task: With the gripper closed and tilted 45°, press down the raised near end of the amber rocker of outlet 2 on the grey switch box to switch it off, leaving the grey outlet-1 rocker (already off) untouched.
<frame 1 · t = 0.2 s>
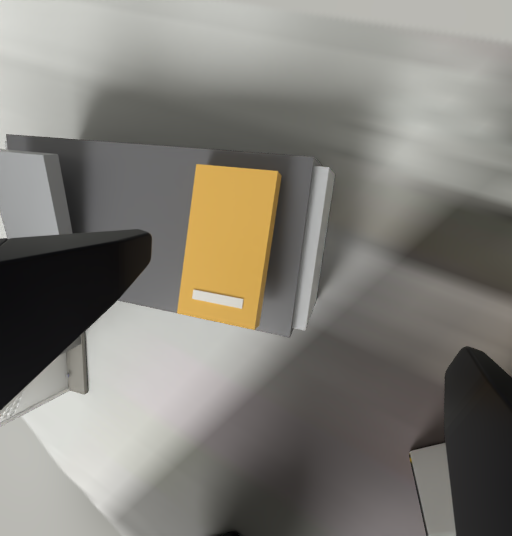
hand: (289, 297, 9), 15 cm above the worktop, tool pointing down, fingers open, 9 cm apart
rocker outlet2: (228, 245, 17), point 8 cm above the worktop, hinge at 10.0°
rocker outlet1: (35, 219, 21), point 8 cm above the worktop, hinge at -10.0°
medicine bottle: (475, 476, 24), on the worktop
skyscraper: (56, 358, 34), on the worktop
grey switch box: (188, 221, 26), on the worktop
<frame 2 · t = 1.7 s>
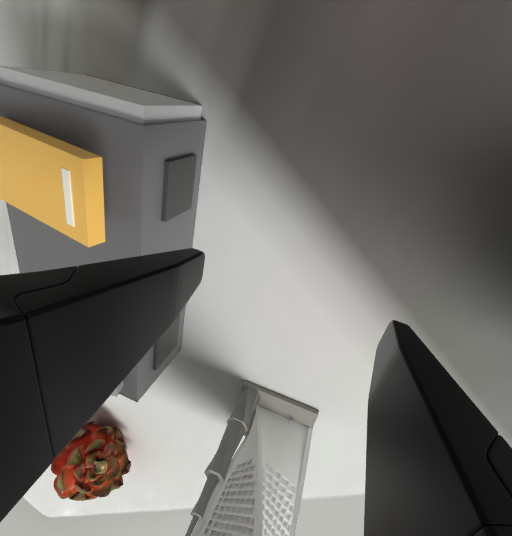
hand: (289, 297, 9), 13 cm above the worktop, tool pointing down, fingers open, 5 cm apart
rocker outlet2: (41, 179, 17), point 8 cm above the worktop, hinge at 10.0°
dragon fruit: (114, 436, 43), on the worktop
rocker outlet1: (66, 356, 23), point 8 cm above the worktop, hinge at -10.0°
skyscraper: (279, 424, 31), on the worktop
grey switch box: (137, 238, 27), on the worktop
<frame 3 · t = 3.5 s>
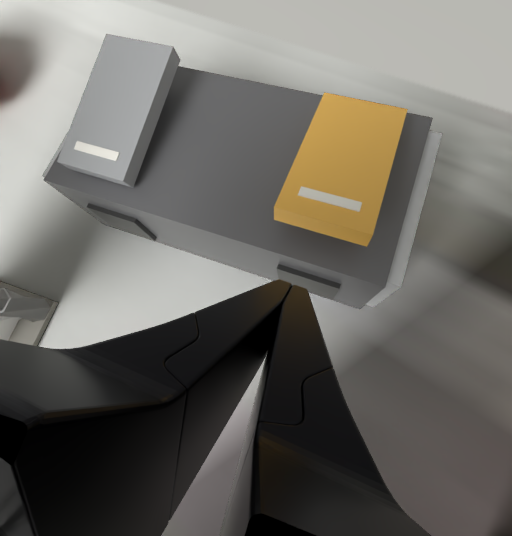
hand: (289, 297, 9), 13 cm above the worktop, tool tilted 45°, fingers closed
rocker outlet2: (343, 161, 16), point 8 cm above the worktop, hinge at 10.0°
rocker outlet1: (119, 109, 19), point 8 cm above the worktop, hinge at -10.0°
grey switch box: (245, 203, 25), on the worktop
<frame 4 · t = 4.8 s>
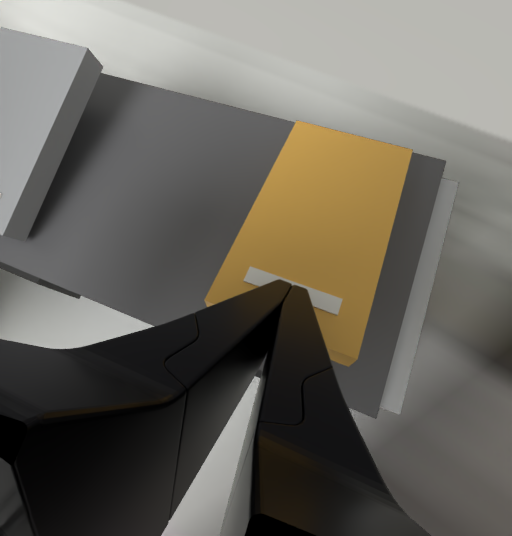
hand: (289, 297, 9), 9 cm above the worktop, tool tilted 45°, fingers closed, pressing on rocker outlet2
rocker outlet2: (318, 224, 11), point 8 cm above the worktop, hinge at 10.0°, touching gripper
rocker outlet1: (12, 131, 13), point 8 cm above the worktop, hinge at -10.0°
grey switch box: (201, 250, 20), on the worktop
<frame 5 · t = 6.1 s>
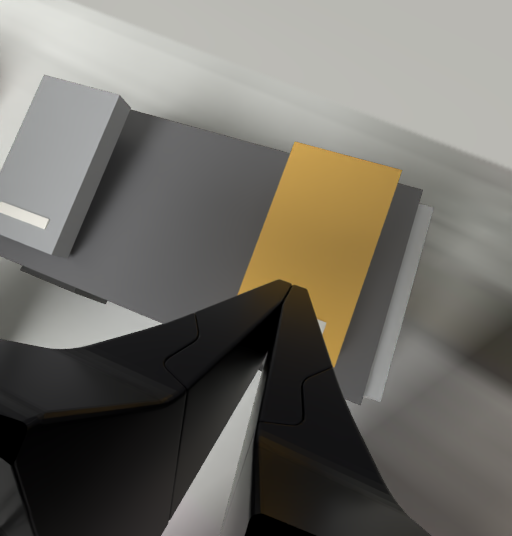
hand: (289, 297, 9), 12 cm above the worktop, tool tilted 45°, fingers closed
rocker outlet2: (313, 250, 13), point 8 cm above the worktop, hinge at -10.2°
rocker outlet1: (55, 164, 16), point 8 cm above the worktop, hinge at -10.0°
grey switch box: (212, 260, 22), on the worktop
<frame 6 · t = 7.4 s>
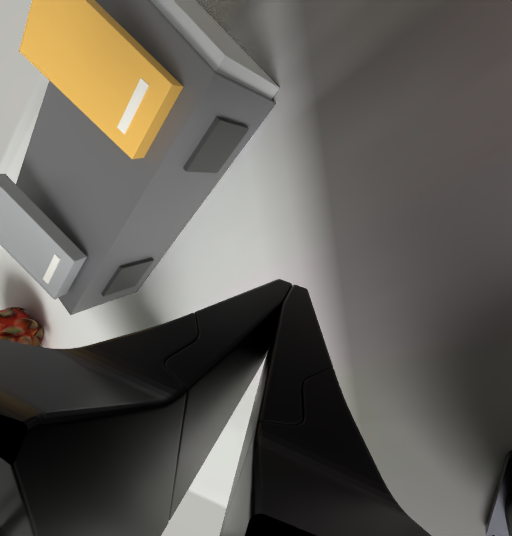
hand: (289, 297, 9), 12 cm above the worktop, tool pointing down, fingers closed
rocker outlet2: (98, 68, 16), point 8 cm above the worktop, hinge at -12.7°
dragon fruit: (36, 332, 42), on the worktop
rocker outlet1: (29, 238, 23), point 8 cm above the worktop, hinge at -10.0°
grey switch box: (155, 170, 26), on the worktop
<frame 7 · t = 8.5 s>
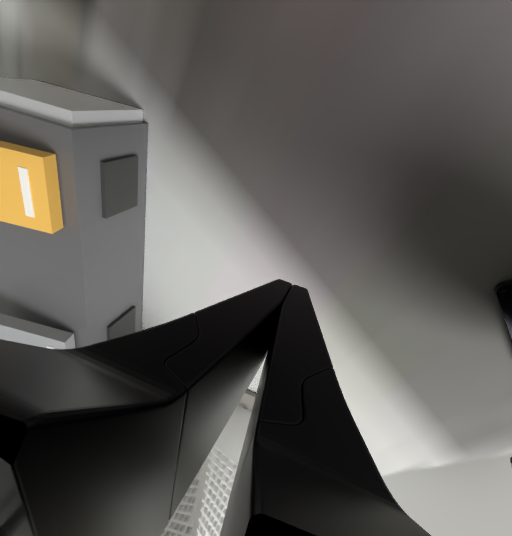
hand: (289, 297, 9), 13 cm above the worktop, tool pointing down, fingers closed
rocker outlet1: (22, 345, 25), point 8 cm above the worktop, hinge at -10.0°
skyscraper: (236, 413, 33), on the worktop
grey switch box: (94, 234, 28), on the worktop
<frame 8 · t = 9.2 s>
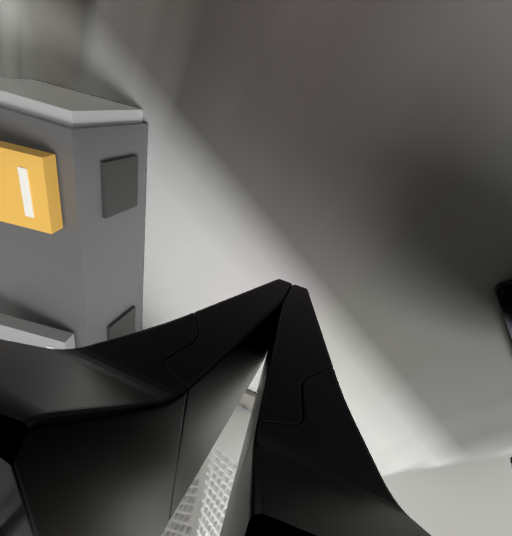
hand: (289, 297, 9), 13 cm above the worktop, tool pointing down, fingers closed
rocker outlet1: (22, 345, 25), point 8 cm above the worktop, hinge at -10.0°
skyscraper: (236, 413, 33), on the worktop
grey switch box: (94, 234, 28), on the worktop
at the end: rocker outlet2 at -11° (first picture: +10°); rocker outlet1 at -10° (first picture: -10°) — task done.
